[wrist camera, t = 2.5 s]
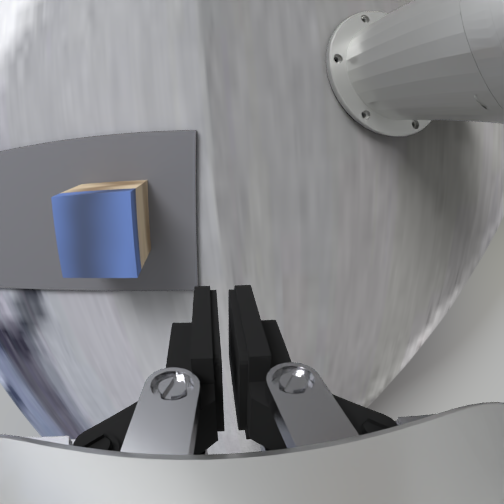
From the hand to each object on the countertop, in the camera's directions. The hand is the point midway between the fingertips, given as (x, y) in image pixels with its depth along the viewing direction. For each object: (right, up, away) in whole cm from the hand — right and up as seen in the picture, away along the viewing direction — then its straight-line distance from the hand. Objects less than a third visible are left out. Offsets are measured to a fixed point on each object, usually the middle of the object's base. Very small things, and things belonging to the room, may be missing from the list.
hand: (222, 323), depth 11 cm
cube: (-11, +6, +14) cm, 19 cm away
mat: (-17, +6, +14) cm, 22 cm away
